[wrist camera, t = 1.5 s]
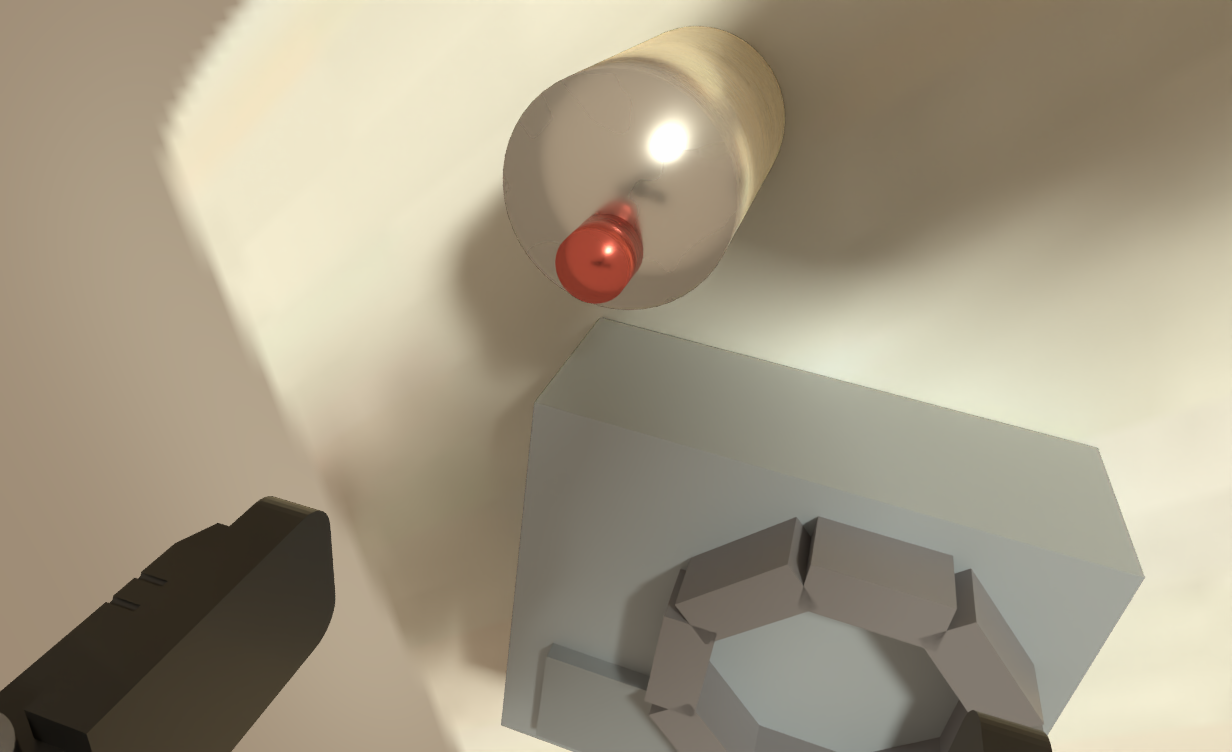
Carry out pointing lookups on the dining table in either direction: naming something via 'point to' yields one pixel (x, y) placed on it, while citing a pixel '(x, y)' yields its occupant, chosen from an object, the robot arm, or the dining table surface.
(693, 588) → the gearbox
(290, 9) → the dining table surface
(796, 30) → the dining table surface
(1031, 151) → the dining table surface
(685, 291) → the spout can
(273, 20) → the dining table surface
